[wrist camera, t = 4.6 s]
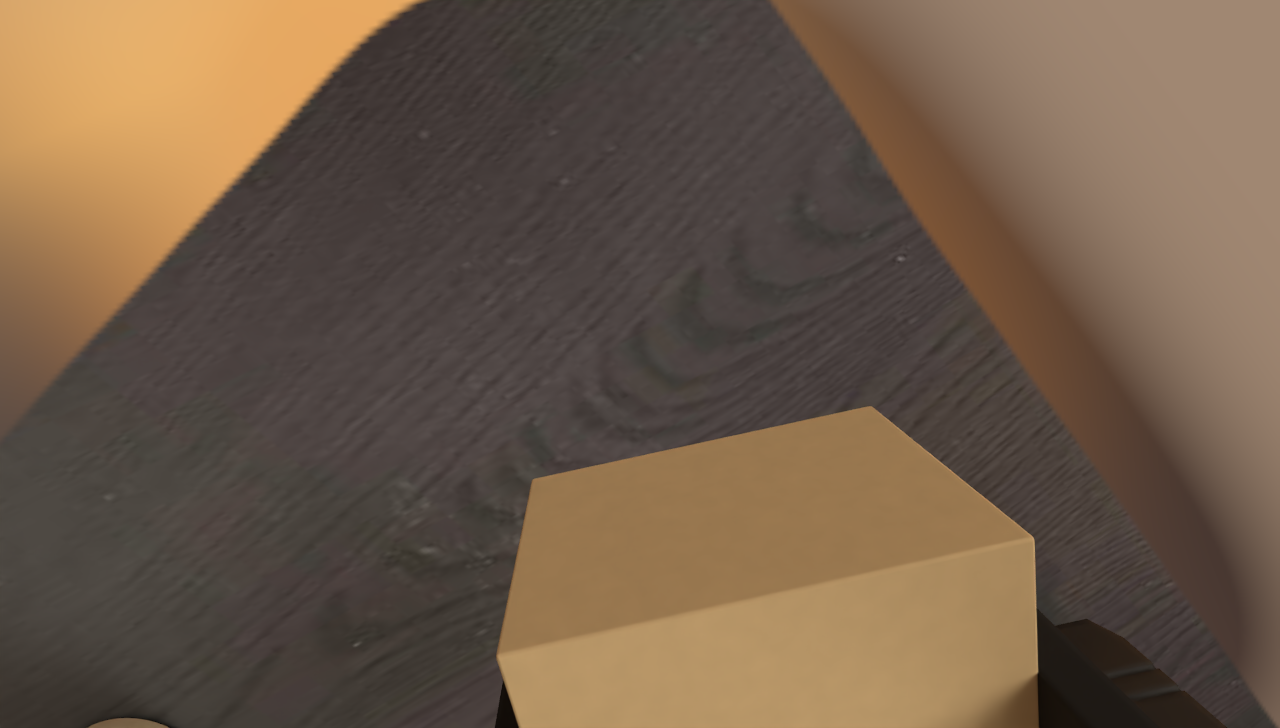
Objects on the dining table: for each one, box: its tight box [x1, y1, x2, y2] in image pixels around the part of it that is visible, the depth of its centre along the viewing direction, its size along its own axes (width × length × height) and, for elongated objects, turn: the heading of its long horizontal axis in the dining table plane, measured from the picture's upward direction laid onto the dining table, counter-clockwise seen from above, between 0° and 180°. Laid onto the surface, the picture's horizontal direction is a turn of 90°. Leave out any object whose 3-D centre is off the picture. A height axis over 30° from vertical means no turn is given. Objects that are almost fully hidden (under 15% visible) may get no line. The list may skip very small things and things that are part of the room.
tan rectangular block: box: [496, 406, 1039, 728], centre depth 11 cm, size 7×7×5 cm
